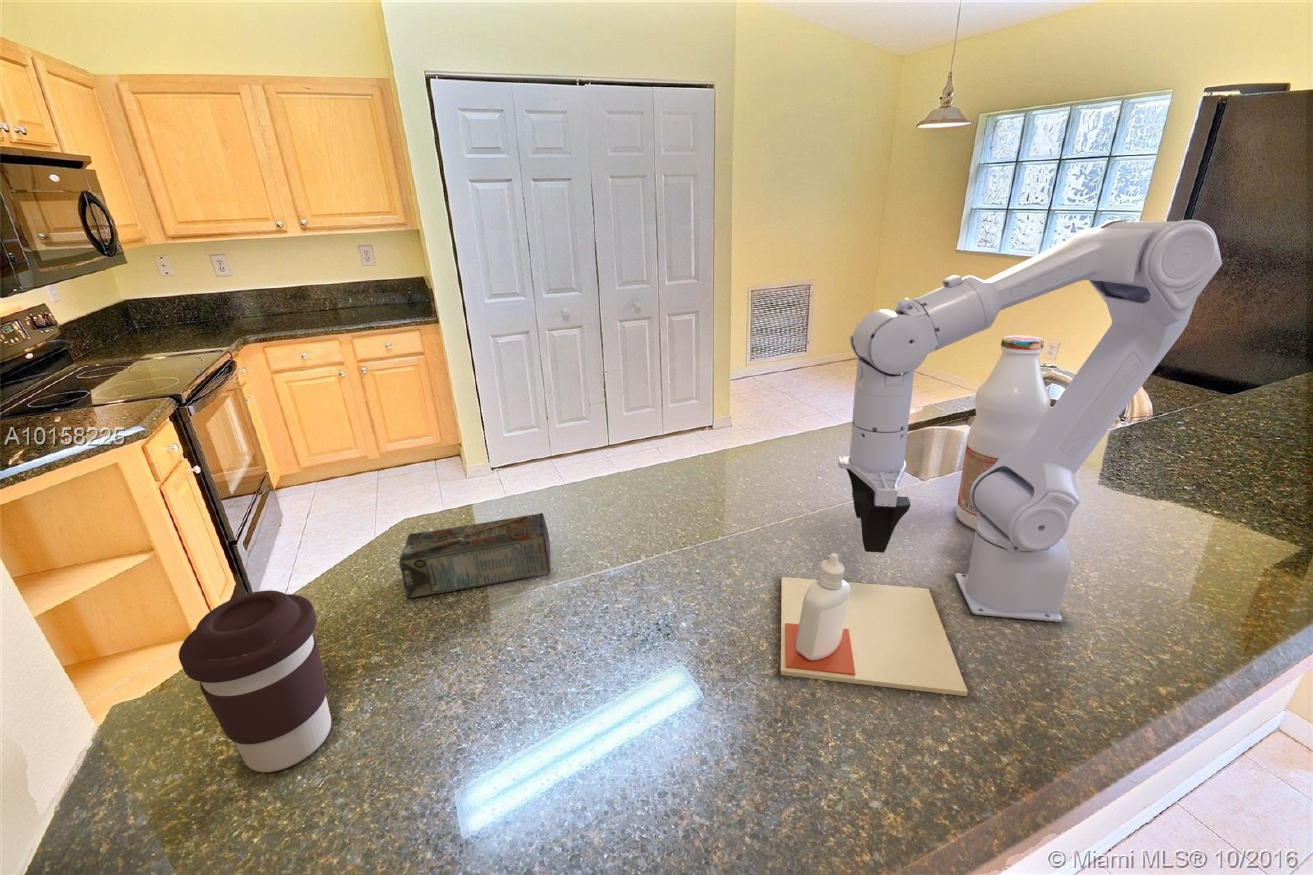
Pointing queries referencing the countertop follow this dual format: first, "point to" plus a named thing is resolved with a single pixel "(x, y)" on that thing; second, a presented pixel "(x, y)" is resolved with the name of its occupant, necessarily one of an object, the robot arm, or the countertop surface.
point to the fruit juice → (1004, 414)
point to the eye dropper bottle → (824, 611)
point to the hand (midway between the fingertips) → (869, 532)
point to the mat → (876, 640)
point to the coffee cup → (262, 676)
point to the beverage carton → (475, 555)
